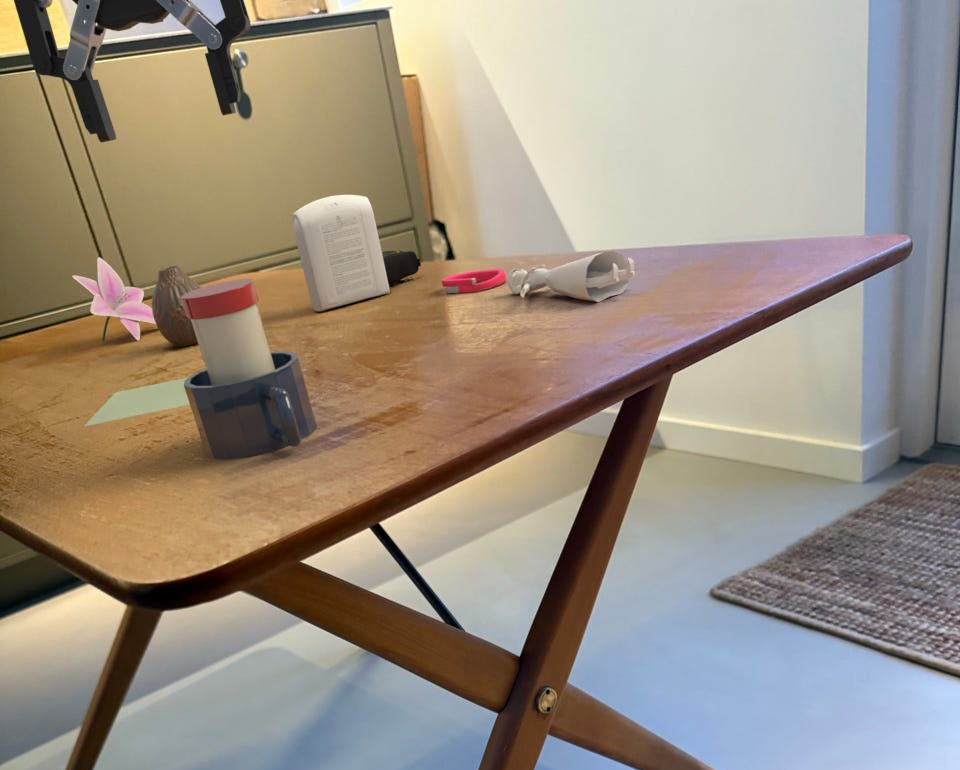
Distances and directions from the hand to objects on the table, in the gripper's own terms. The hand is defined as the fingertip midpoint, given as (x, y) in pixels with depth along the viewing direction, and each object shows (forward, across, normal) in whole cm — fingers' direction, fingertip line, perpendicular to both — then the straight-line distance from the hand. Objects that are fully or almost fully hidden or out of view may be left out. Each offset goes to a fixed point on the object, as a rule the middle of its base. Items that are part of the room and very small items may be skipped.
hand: (168, 127), depth 70 cm
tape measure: (+23, -10, -62) cm, 67 cm away
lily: (+23, +26, -63) cm, 72 cm away
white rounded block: (+23, -5, -55) cm, 60 cm away
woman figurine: (+23, -29, -32) cm, 49 cm away
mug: (+23, -1, +1) cm, 23 cm away
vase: (+23, +15, -50) cm, 57 cm away
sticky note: (+23, +12, -22) cm, 34 cm away
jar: (+22, 0, 0) cm, 22 cm away
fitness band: (+23, -20, -48) cm, 57 cm away
